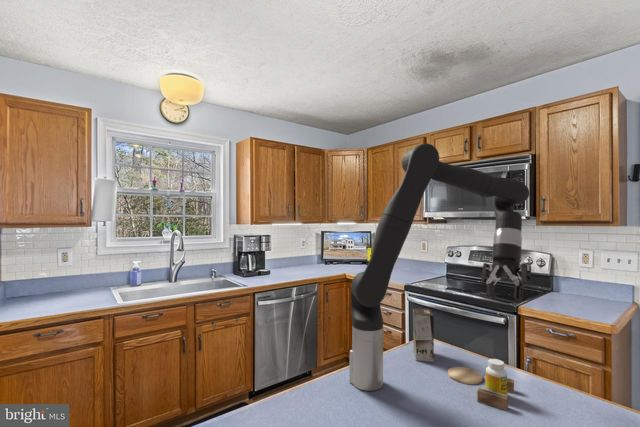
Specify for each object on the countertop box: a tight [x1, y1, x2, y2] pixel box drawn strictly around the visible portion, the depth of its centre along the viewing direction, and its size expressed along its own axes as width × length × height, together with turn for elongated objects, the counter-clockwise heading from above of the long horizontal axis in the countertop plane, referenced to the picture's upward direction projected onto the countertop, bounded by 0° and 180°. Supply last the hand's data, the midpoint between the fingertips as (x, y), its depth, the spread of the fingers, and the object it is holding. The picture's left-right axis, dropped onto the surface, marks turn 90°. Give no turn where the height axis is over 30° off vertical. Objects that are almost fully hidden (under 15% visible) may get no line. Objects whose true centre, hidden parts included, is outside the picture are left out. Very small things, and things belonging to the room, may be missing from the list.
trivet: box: [447, 366, 483, 385], centre depth 104 cm, size 10×10×1 cm
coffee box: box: [412, 308, 435, 363], centre depth 120 cm, size 9×6×16 cm
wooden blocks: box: [476, 377, 515, 412], centre depth 93 cm, size 7×13×3 cm, turn 142°
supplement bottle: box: [485, 358, 508, 396], centre depth 93 cm, size 5×5×10 cm
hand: (503, 298), depth 97 cm, fingers open, 8 cm apart
